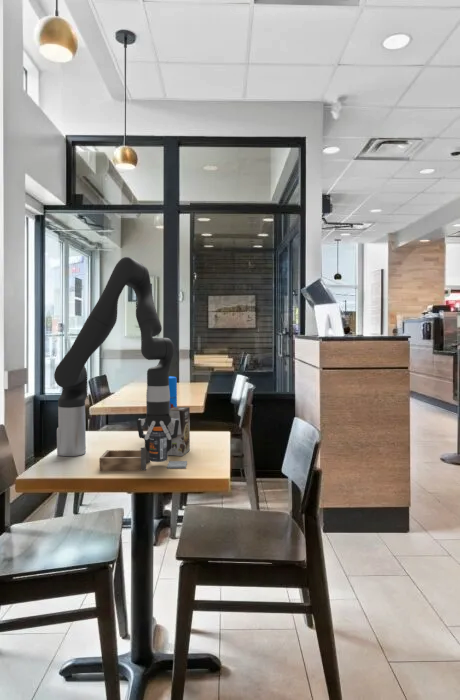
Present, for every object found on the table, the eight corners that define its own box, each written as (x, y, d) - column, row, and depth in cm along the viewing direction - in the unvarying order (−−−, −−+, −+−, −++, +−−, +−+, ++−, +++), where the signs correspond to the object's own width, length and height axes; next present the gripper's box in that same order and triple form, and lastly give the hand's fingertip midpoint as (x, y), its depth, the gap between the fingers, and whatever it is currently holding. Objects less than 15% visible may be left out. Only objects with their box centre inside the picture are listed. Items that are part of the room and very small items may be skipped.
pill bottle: (145, 460, 172) (145, 425, 171) (160, 457, 176) (160, 423, 175) (156, 463, 167) (156, 428, 167) (171, 460, 172) (171, 425, 171)
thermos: (153, 435, 221) (152, 376, 220) (178, 435, 221) (178, 376, 220) (148, 441, 210) (147, 378, 209) (174, 441, 210) (174, 378, 209)
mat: (167, 468, 168) (167, 466, 168) (169, 462, 175) (169, 461, 175) (185, 468, 168) (185, 466, 168) (187, 462, 175) (187, 461, 175)
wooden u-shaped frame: (99, 470, 166) (99, 448, 166) (107, 462, 177) (106, 441, 177) (145, 470, 166) (145, 448, 166) (150, 461, 177) (150, 441, 177)
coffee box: (183, 456, 185) (183, 410, 184) (165, 455, 186) (165, 410, 185) (190, 450, 194) (190, 406, 193) (173, 449, 195) (173, 406, 194)
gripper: (134, 401, 167) (134, 453, 168) (179, 400, 167) (179, 453, 168) (137, 398, 174) (138, 448, 175) (181, 397, 175) (181, 448, 175)
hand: (158, 450), depth 172 cm, fingers closed on pill bottle, 6 cm apart
